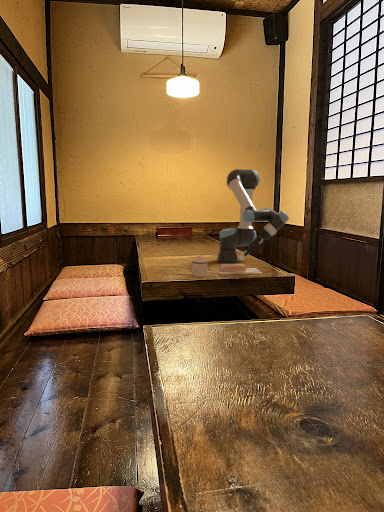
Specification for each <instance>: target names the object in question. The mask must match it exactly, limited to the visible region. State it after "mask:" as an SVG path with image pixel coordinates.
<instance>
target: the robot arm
mask: <svg viewBox="0 0 384 512" xmlns="http://www.w3.org/2000/svg"><path fill="white" fill-rule="evenodd" d="M226 184H227V185H226V186H227V187H228V189H229V190H230V191H232V193H233V195H234V197H235V199H236V201H237V202H238V203H239V206H240V207H239V210H240V211H239V225H238V226H237V228H234V227H233V228H232V227H230V228H223V229H222V230H220V232H219V250H218V251H219V252H218V254H217V258H216V262H217V263H218V262H219V263H221V264H236V263H238V262H239V260H240V261H244V259H245V258H247V257H248V256H249V255H250V254H252V253H253V252H254V251H256V249H258V248H259V247H261V245H263V244H264V241H269V240H270V239H271V238H272V237H273V236H274V235H276V234H277V232H278V231H279V230H280V229H282V227H283V226H284V225H286V223H287V222H288V221H289V219H290V217H289V215H288V214H287V213H286V212H285V211H283V210H280V211H279V212H276V211H275V210H273V209H272V208H270V207H266V208H263V209H257V208H256V207H255V205H254V203H253V201H254V191H256V188H257V187H259V184H260V175H259V173H258V171H257V170H254V169H238V168H237V169H236V168H235V169H233V170H231V171H230V172H229V173H228V175H227V176H226ZM261 222H262V223H263V222H265V223H267V222H268V223H267V224H265V225H264V226H263V228H261V229H260V230H259V232H258V233H259V235H258V236H257V232H256V230H255V229H254V227H253V226H252V224H253V223H261ZM237 247H246V248H245V250H244V251H243V252H242V254H240V255H239V256H238V253H237Z"/></svg>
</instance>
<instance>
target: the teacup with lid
mask: <svg viewBox="0 0 384 512" xmlns="http://www.w3.org/2000/svg"><path fill="white" fill-rule="evenodd" d="M191 262H192V263H191ZM191 262H190V263H188V264H187V266H186V268H187V270H188V271H189V272H190V273H191V272H192V277H195V278H206V277H207V276H208V262H209V261H208V260H207V259H205V258H203V257H202V256H201V255H199V256H198V257H196V258H195V259H192V261H191ZM191 265H192V269H190V268H189V266H191Z"/></svg>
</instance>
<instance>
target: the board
mask: <svg viewBox="0 0 384 512" xmlns="http://www.w3.org/2000/svg"><path fill="white" fill-rule="evenodd" d="M216 272H217V273H218V274H221V275H222V274H223V275H225V274H226V275H228V274H229V275H230V274H231V275H232V274H263V272H262V271H260V270H259V269H258V268H256V267H246V271H243V272H223V271H222V269H221V268H216Z"/></svg>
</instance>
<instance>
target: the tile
mask: <svg viewBox="0 0 384 512" xmlns="http://www.w3.org/2000/svg"><path fill="white" fill-rule="evenodd" d="M246 268H247V266H246V265H245V264H244V263H220V269H222V271H223V272H243V271H246Z"/></svg>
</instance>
